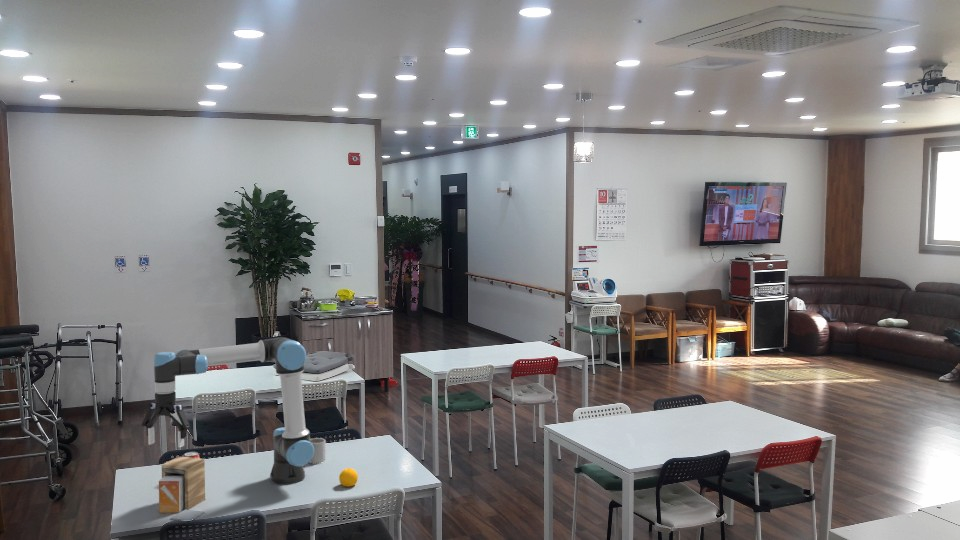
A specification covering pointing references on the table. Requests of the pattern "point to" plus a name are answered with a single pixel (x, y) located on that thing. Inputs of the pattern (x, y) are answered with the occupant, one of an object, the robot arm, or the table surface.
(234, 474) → the table surface
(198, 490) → the dispenser
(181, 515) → the pad
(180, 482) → the small box
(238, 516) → the table surface
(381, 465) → the table surface
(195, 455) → the soda can
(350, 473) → the yellow ball
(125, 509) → the table surface
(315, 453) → the mug
